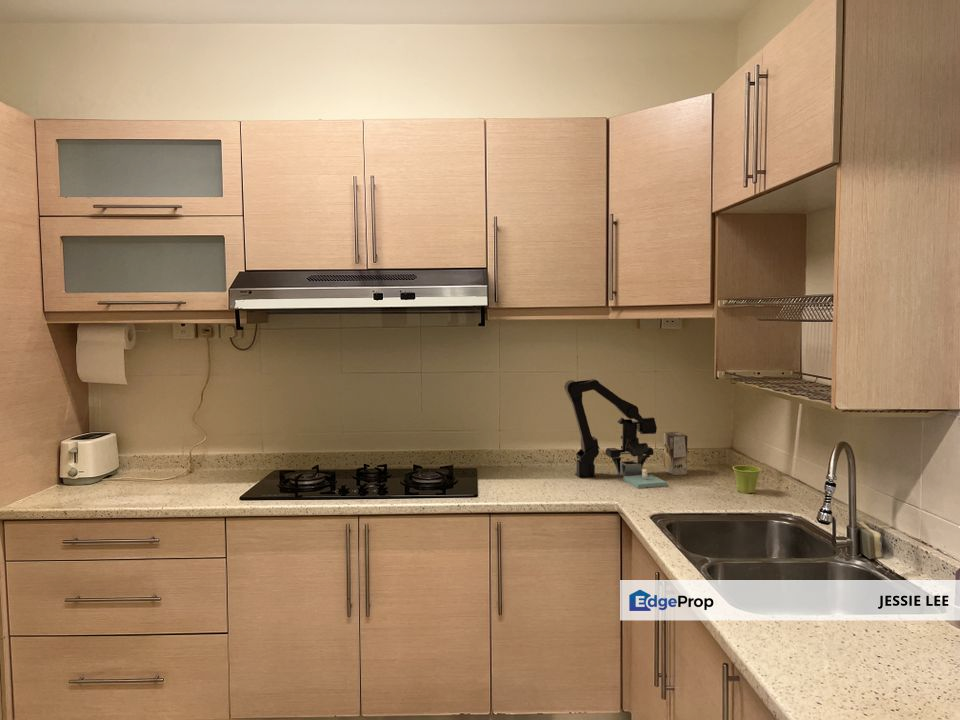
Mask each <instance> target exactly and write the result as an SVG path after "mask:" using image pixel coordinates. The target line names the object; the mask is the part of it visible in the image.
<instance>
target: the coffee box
mask: <svg viewBox="0 0 960 720" xmlns="http://www.w3.org/2000/svg"><path fill="white" fill-rule="evenodd" d="M663 471H665V472H666V473H669V474H670V475H672V476H682V475H683V476H684V475H688V435H686V434H683V433H680V432H678V431H669V432H663Z"/></svg>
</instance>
